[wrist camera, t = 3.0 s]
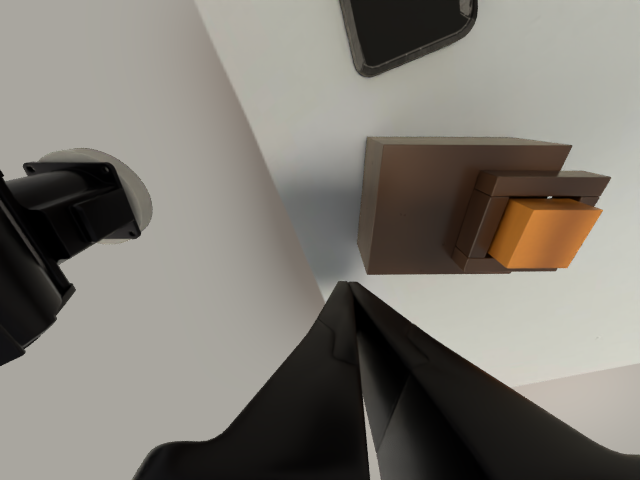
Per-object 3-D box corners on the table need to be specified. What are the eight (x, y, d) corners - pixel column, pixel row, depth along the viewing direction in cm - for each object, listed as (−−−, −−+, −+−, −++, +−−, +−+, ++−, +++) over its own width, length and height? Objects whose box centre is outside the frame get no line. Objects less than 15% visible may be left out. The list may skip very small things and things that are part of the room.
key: (486, 251, 17) (506, 268, 15) (507, 198, 15) (534, 210, 13) (540, 251, 17) (567, 268, 15) (569, 198, 15) (604, 210, 13)
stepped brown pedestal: (356, 243, 24) (371, 289, 18) (367, 136, 19) (391, 148, 13) (487, 243, 24) (546, 287, 18) (529, 137, 19) (629, 149, 13)
